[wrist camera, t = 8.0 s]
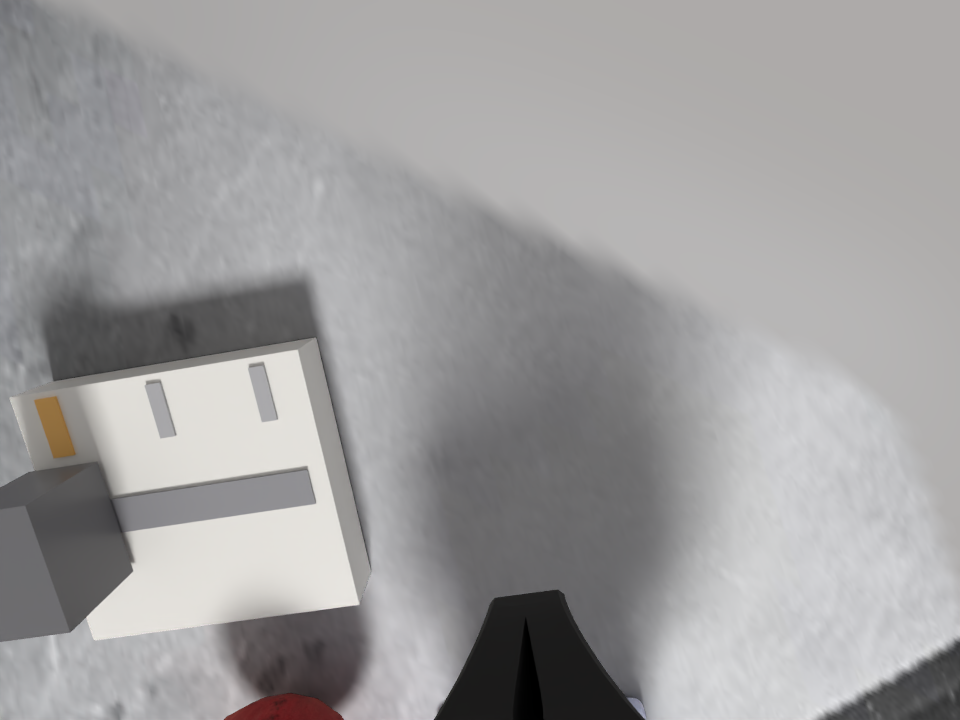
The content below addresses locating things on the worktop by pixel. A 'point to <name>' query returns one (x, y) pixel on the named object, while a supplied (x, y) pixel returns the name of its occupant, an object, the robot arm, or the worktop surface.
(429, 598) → the worktop surface
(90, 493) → the fader knob
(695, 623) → the worktop surface
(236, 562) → the console
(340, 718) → the onion
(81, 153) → the worktop surface
